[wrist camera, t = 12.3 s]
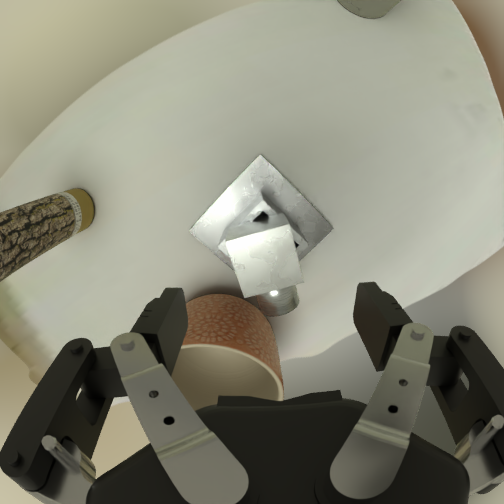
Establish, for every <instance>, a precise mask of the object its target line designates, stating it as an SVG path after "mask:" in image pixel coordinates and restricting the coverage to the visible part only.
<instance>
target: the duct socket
mask: <svg viewBox="0 0 504 504" xmlns="http://www.w3.org/2000/svg"><path fill="white" fill-rule="evenodd" d="M280 213H284V214H285V216H286V218H287V220H288V222H289V224H290V228H291V232H292V236H293V240H294V244H295V248H296V252H297V256H298V260H299V261H300V260H301V259H302V258H303V257H304V256H305V255H306V254H307V253H308V252H310V251H311V250H312V249H313V248H314V247H315V246H316V245H317V244H318V243H319V242H320V241H321V240H322V239H323V238H324V237H325V236H326V235H327V234H328V233H329V232H330V231H331V230H332V229H333V227H332V226H331V225H330V224H329V223H328V222H327V221H326V220H325V219H324V217H323V216H322V215H321V214H320V213H319V212H318V211H317V210H316V209H315V208H314V207H313V206H312V205H311V204H310V203H309V202H308V201H307V200H306V199H305V198H304V197H303V196H302V195H301V194H300V193H299V192H298V191H297V190H296V189H295V188H294V187H293V186H292V185H291V184H290V183H289V182H288V181H287V180H286V179H285V178H284V177H283V176H282V175H281V174H280V173H279V172H278V171H277V170H276V169H275V168H274V167H273V166H272V165H271V164H270V163H269V162H268V161H267V160H266V159H265V158H263V157H262V156H261V155H259V156H258V157H257V158H256V159H255V160H254V161H253V162H252V163H251V164H250V165H249V166H248V167H247V168H246V169H245V170H244V171H243V173H242V174H241V175H240V176H239V177H238V178H237V179H236V180H235V181H234V182H233V183H232V184H231V185H230V186H229V187H228V188H227V189H226V190H225V192H224V193H223V194H222V195H221V196H220V197H219V198H218V199H217V200H216V201H215V202H214V203H213V205H212V206H211V207H210V208H209V209H208V210H207V211H206V212H205V213H204V214H203V216H202V217H201V218H200V219H199V220H198V221H197V222H196V223H195V225H194V226H193V227H192V228H191V229H190V230H189V232H190V233H191V234H192V235H193V236H195V237H196V238H197V239H198V240H199V241H200V242H201V243H203V244H204V245H205V246H206V247H207V248H208V249H209V250H211V251H212V252H213V253H214V254H215V255H216V256H217V257H219V258H220V259H221V260H222V261H223V262H224V263H225V264H227V265H228V266H229V267H230V268H231V269H232V270H234V267H233V264H232V261H231V258H230V255H229V252H228V249H227V246H226V243H225V241H226V237H227V234H228V231H229V228H231V227H234V226H237V225H241V224H244V223H248V222H251V221H253V220H254V219H255V218H256V217H257V216H258V215H268V216H273V215H277V214H280ZM234 271H235V270H234Z"/></svg>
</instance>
